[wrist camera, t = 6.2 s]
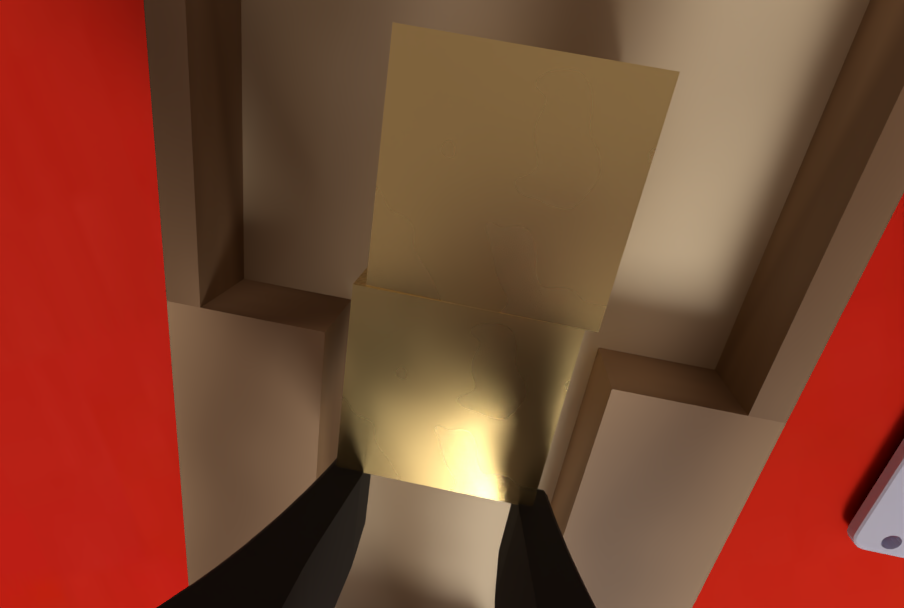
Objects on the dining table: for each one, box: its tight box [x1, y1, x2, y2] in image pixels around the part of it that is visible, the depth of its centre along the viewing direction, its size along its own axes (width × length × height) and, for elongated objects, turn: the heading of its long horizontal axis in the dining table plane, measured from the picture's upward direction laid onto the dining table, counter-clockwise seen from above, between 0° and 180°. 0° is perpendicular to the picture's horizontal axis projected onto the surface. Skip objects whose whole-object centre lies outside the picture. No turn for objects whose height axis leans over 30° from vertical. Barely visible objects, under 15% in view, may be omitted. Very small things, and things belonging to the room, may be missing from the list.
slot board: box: [144, 0, 904, 608], centre depth 14 cm, size 14×28×3 cm, turn 171°
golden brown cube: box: [366, 22, 680, 332], centre depth 10 cm, size 4×4×4 cm
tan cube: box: [336, 267, 585, 506], centre depth 11 cm, size 4×4×4 cm
